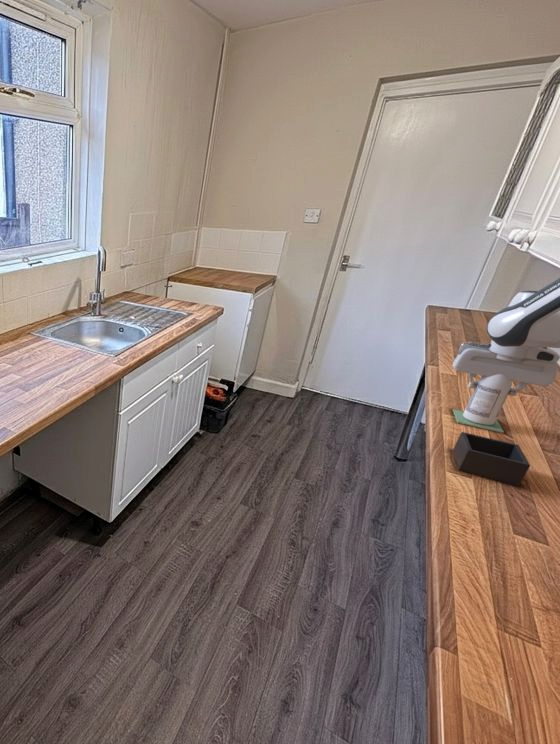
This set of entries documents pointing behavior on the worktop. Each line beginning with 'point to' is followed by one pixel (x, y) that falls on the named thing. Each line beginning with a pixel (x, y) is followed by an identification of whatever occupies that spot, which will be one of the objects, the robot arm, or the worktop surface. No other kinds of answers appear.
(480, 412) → the bath foam
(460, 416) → the mat
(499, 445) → the holder
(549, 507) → the worktop surface
